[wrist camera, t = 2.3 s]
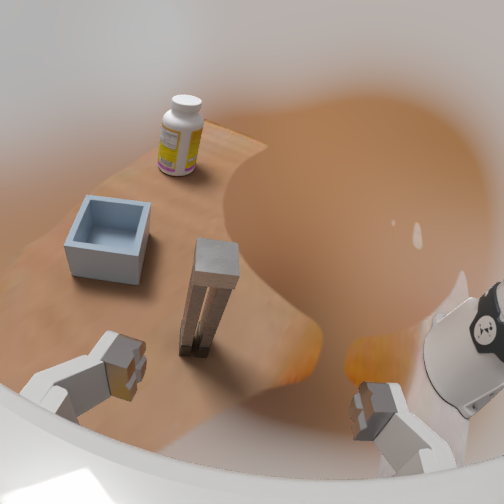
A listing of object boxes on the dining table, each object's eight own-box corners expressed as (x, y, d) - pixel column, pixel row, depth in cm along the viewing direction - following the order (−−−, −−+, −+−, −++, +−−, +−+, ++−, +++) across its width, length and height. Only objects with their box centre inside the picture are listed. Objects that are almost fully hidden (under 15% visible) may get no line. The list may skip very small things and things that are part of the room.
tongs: (206, 332, 33) (237, 243, 23) (206, 357, 31) (239, 275, 21) (179, 330, 32) (197, 237, 22) (178, 355, 30) (194, 270, 20)
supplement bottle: (191, 157, 55) (205, 94, 46) (196, 178, 51) (212, 109, 42) (156, 156, 52) (165, 91, 43) (157, 177, 48) (167, 106, 39)
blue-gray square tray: (149, 233, 40) (151, 202, 36) (138, 285, 35) (138, 256, 31) (90, 225, 38) (86, 194, 34) (71, 275, 32) (63, 245, 29)
